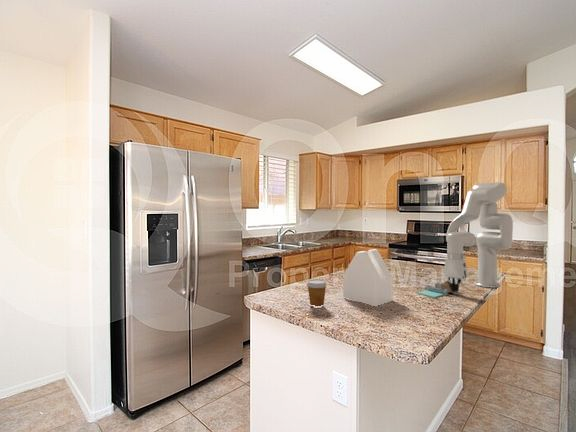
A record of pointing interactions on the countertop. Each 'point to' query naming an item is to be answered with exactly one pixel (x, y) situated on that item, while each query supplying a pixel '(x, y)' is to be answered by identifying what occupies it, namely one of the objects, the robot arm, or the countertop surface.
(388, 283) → the milk carton
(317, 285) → the disposable coffee cup
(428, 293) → the pad
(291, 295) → the countertop surface
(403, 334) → the countertop surface
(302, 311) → the countertop surface
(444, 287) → the wooden knob block
